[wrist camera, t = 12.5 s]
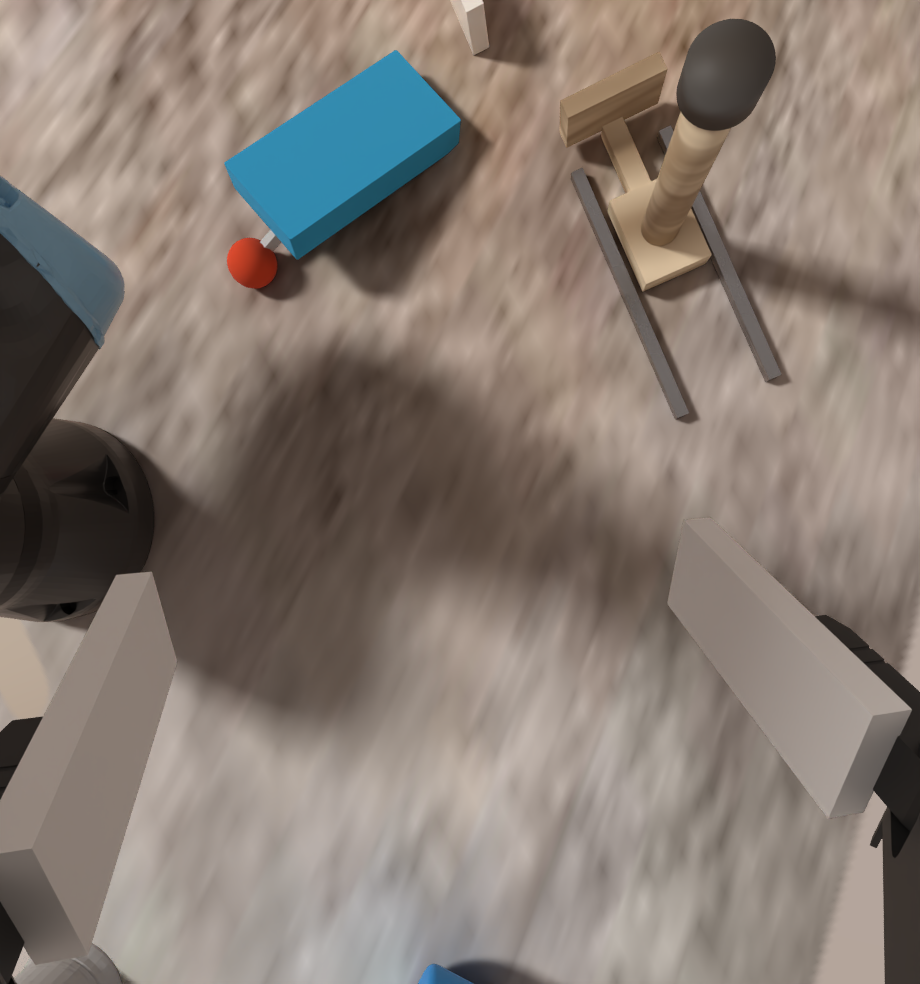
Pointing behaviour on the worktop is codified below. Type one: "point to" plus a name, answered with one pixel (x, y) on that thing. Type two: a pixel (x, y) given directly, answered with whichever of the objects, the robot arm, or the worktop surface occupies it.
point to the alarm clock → (441, 976)
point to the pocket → (472, 23)
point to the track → (634, 303)
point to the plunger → (672, 140)
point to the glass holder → (72, 970)
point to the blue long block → (337, 162)
